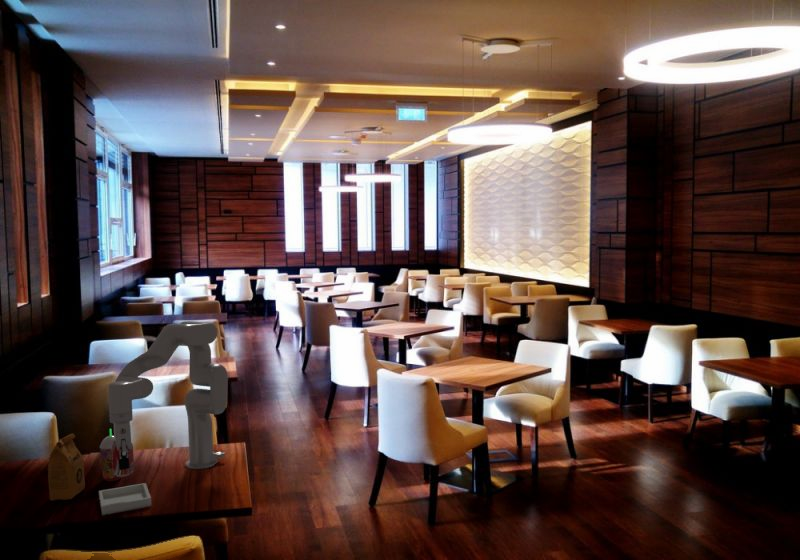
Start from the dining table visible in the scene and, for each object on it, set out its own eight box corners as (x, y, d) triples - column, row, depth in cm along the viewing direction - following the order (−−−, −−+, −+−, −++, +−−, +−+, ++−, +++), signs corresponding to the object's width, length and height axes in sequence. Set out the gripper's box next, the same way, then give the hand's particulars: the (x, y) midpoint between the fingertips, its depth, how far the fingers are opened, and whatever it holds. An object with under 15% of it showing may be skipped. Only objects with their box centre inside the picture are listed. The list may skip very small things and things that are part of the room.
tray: (145, 490, 256) (145, 482, 256) (151, 506, 242) (151, 497, 242) (99, 498, 249) (98, 490, 249) (102, 515, 235) (101, 506, 235)
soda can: (113, 472, 247) (111, 439, 246) (134, 469, 249) (132, 437, 248) (112, 478, 240) (110, 445, 239) (134, 476, 243) (132, 442, 242)
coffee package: (90, 489, 258) (87, 432, 257) (71, 502, 246) (68, 442, 244) (64, 488, 259) (61, 431, 257) (45, 502, 247) (41, 442, 245)
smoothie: (96, 480, 267) (94, 430, 265) (114, 473, 274) (112, 424, 273) (111, 484, 263) (108, 433, 261) (129, 477, 270) (126, 427, 269)
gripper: (135, 421, 237) (137, 471, 238) (129, 409, 252) (131, 456, 254) (111, 424, 234) (113, 475, 235) (107, 412, 249) (109, 460, 250)
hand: (123, 465), depth 244 cm, fingers closed on soda can, 7 cm apart
